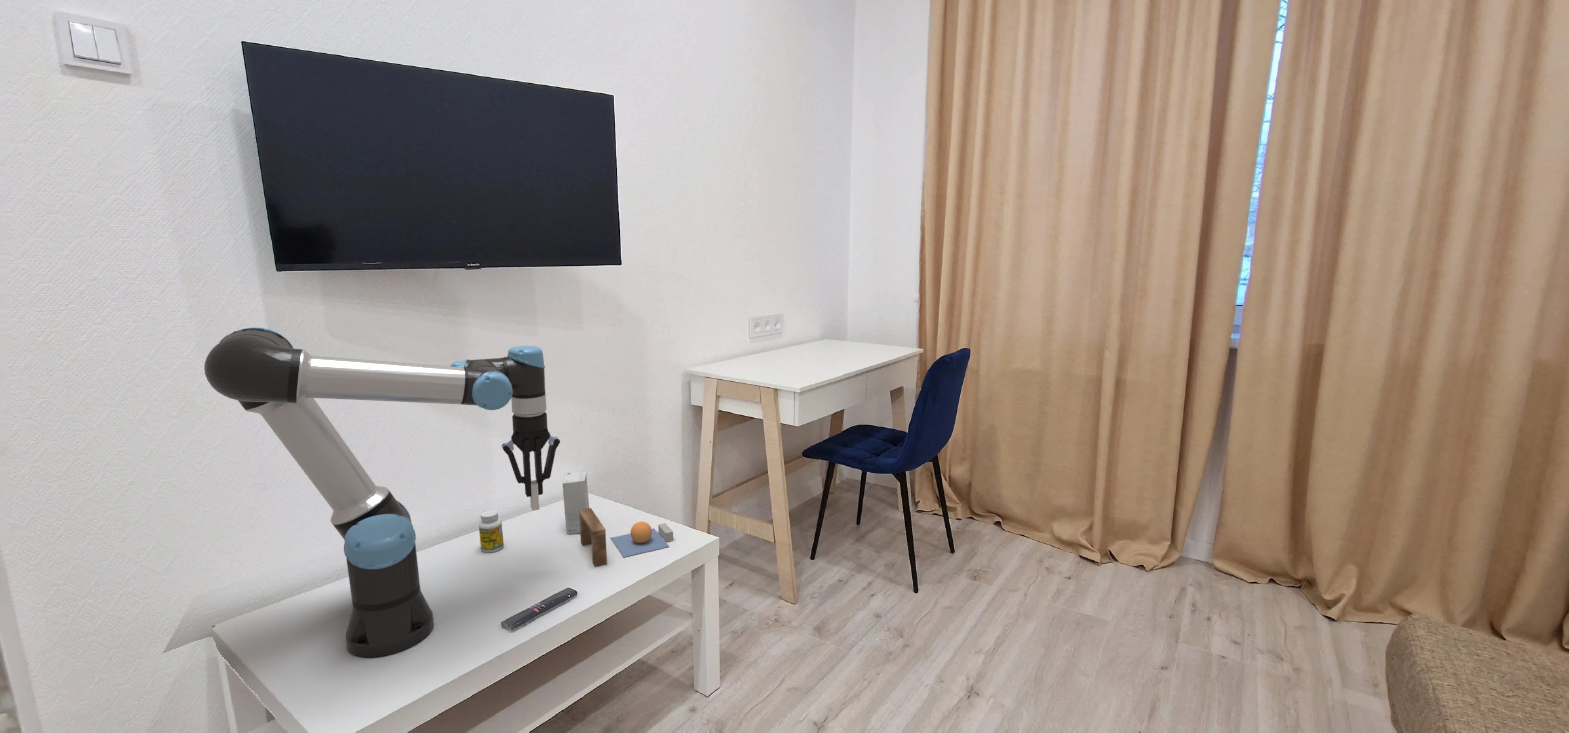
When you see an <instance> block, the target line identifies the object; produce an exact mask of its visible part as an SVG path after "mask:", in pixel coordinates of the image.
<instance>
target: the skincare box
mask: <svg viewBox="0 0 1569 733" xmlns="http://www.w3.org/2000/svg"><path fill="white" fill-rule="evenodd" d="M587 475H588V474H587V471H578V472H577V471H575V472H566V473H565V476H564V477H563V481H562V494H563V506H564V516H565V518H564V519H565V532H566V535H570V534H580V519H579V510H581V509H587V508H590V502H589V489H588V476H587Z"/></svg>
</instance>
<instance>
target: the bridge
mask: <svg viewBox="0 0 1569 733" xmlns="http://www.w3.org/2000/svg"><path fill="white" fill-rule="evenodd" d="M579 519H580V533H579V535H580V544H581V545H582V546H581V547H583V546H589V545H591V554H592V555H591V558H592V565H593V567H594V568H597V567H601V566H604V565H608V556H607V538H606V536H607V533H606V528H605V527H604V524H602V522H601V521H600V519H599V517H598V516H597V515H596V513H595V511H594V510H593V509H592V508H591V507H589V508H587V509H581V510H579Z"/></svg>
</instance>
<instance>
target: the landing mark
mask: <svg viewBox="0 0 1569 733" xmlns="http://www.w3.org/2000/svg"><path fill="white" fill-rule="evenodd" d="M651 529H652V535H651V537H650V539H649V540H648V541H646V542H644V543H637V542H635V541H634V540H633V539H632V537H631V532H630V533H626V534H622V535H617V536H613V537H610V540H611V542H612V543H613V545H614V546H615V547H616V549H617V550H618V552H619V553H620V554H621V556H622V557H623V558H624V559H625V558H629V557H632V556H637V555H641V554H646V553H650V552H654V551H658V550H663V549H667V548H670V545H669V544H668V542H666V541H665V540H664V539H663V538H662V537H661V536H660V534H659V533H658V531H657V530H656V529H655V528H654V527H653V528H651Z"/></svg>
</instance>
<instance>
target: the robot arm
mask: <svg viewBox="0 0 1569 733" xmlns="http://www.w3.org/2000/svg"><path fill="white" fill-rule="evenodd" d="M203 365H204V375H205V378H206V380H207V382H208V384H209V385H210V386H211V387H212V388H213V389H214V390H215V391H216V392H217V393H219V394H220V395H222V396H225V397H226V398H228V399H232V400H235V401H238V403H239V404H240V406H242V408H243V409H244V410H245V411H246V412H250V413H254V414H259V415H260V416H261V417H262V418H263V419H264V421H265V422H266V423H267V425H268V426H269V428H270V429H271V430H272V431H273V433H274V434H275V435H276V436H277V438H278V439H279V441H280V442H281V443H282V444H283V446H284V447H285V448H286V450H287V451H288V452H289V454H290V455H291V456H292V458H293V459H294V460H295V462H296V463H297V464H298V466H299V467H300V468H301V470H302V471H303V472H304V474H305V475H306V476H307V477H308V479H309V480H310V482H311V483H312V484H313V486H314V487H315V488H316V490H317V491H318V492H319V494H320V495H321V496H322V498H323V499H324V500H325V501H326V503H327V505H329V507H330V508H331V510H332V514H331V517H330V523H331V525H333V527H334V528H335V530H336V531H337V532H338V533H339V535H340V536H341V538H343V540H344V544H343V553H344V556H345V558H346V565H347V574H348V580H349V582H348V583H349V589H350V596H351V603H352V610H351V613H350V618H349V621H348V624H347V628H346V633H345V643H346V649H347V650H348V652H349V653H350V654H352V655H354V656H358V657H362V658H363V657H364V658H375V657H376V658H377V657H384V656H388V655H393V654H396V653H399V652H401V651H405V650H407V649H410V648H411V647H413V646H414V645H417V644H418V643H420V642H422V641H423V640H424V639H425V638H427V636H428V635H430V633H432V630H433V629H434V626H435V621H434V613H433V610H432V609H431V607H430V605H429V602H428V601H427V600H426V598H425V596H424V594H423V593H422V591H421V584H420V574H419V573H420V572H419V564H418V555H417V549H416V548H417V547H416V541H417V537H416V536H417V535H416V531H415V528H414V525H413V523H412V519H411V517H412V516H411V515H410V512H409V510H408V509H407V508H406V506H405V505H404V504H403V503H401V501H399V500H397V499H396V498H395V497H394V495H393V493H391V491H390V489H389V488H388V487H386V486H380V485H379V486H378V485H376V484H375V482H374V481H373V480H372V478H371V477H370V475H369V474H368V473H367V471H366V470H365V469H364V467H363V466H362V464H361V463H360V462H359V460H358V459H357V457H356V456H355V454H354V453H353V452H352V450H351V449H350V447H349V446H348V445H347V443H346V441H345V440H344V439H343V438H342V436H341V434H340V433H339V432H338V431H337V429H336V427H335V426H334V425H333V424H332V423H333V422H331V421H330V419H329V418H328V416H327V415H326V414H325V412H324V411H323V409H322V407H321V406H320V405H319V404H318V402H317V401H316V399H331V400H332V399H334V400H352V401H353V400H355V401H372V402H373V401H376V402H377V401H378V402H402V403H423V404H445V405H463V406H464V405H465V406H478V407H479V408H481V409H485V410H486V411H496V410H500V409H502V408H504V407H505V406H507V405H508V404H509V402H511V413H513V415H512V431H513V432H512V435H511V437H510V440H509V441H507V442H506V443H505V442H504V443H502V444H501V448H502V450H503V452H504V453H505V454H506V455H507V457H508V459H509V462H510V465H511V469H512V470H513V471H512V472H513V474H514V477H515V479H516V481H517V483H518V484H523V485H524V492H525V493H524V494H525V496H526V497H527V498H529V497H530V508H531V510H532V511H538V510H540V499H539V496H541V495H543V493H544V487H543V485H544V484H543V483H544V481H545V480H550V478H551V475H552V471H553V465H554V461H555V457H556V456H555V455H556V451H557V448H558V447H559V445H560V443H561V439H560V438H559V437H558V436H553V435H551V432H550V431H549V429H548V415H547V412H546V411H547V409H548V408H547V399H546V398H547V397H546V396H547V395H546V375H545V372H546V371H545V369H546V365H545V358H544V352H543V349H542V348H541V347H539V346H534V345H519V346H513V347H510V348H509V349H508V351H507V356H503V357H496V358H494V357H493V358H481V359H479V358H478V359H465V360H459V361H458V360H457V361H453V362H452V363H451V364H450V366H448V365H437V364H435V365H434V364H422V363H410V362H399V361H398V362H395V361H384V360H383V361H381V360H370V359H358V358H356V359H355V358H345V357H330V356H318V355H317V356H316V355H312V354H310V353H308V351H307V350H306V349H302V348H294V346H293V345H292V343H291V342H290V340H288V339H287V337H285V336H284V335H283V334H281V333H279V332H277V331H275V330H273V329H270V328H264V327H247V328H242V329H238V330H234V331H233V332H231V333H229V334H226V335H225V336H224V337H223V338H221V340H219V342H218V344H216V345H214V347H212V348H211V350H210V352H209V353H208V354H207V355H206V357H205V362H204V364H203ZM547 442H548V443H547ZM546 443H547V444H548V447H547V452H546V453H547V454H546V457H545V458H546V459H545V462H544V463H545V464H544V469H543V462H542V459H543V458H542V453H543V452H542V449H544V447H545V445H546ZM514 445H515V446H516V447H517V448H518V450H520V451H521V453H522V465H523V476H522V473H521V471H520V468H519V465H518V463H517V459H516V456H515V454H514V452H513V451H514V450H515V448H514ZM532 452H533V457H534V471H535V474H534V476H535V480H532V474H531V453H532Z"/></svg>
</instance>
